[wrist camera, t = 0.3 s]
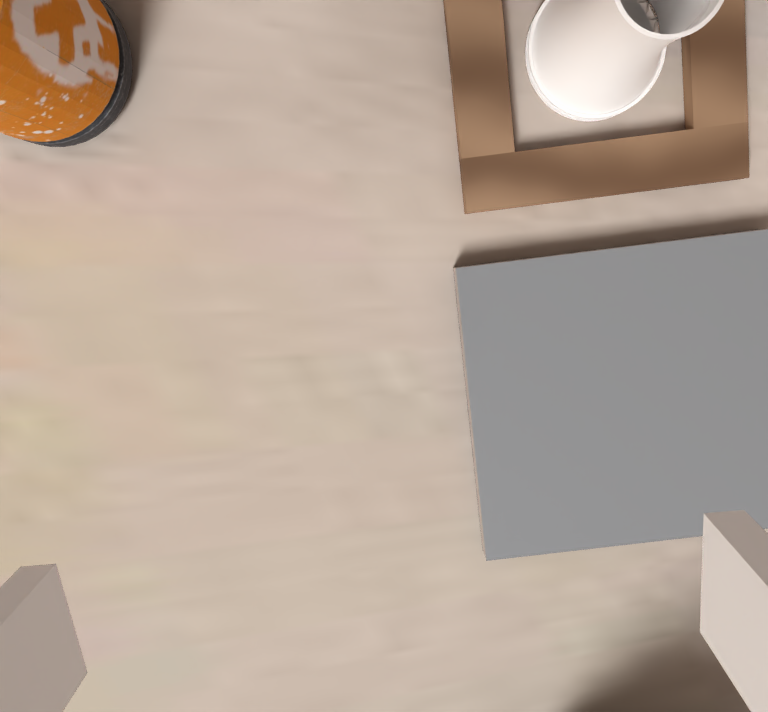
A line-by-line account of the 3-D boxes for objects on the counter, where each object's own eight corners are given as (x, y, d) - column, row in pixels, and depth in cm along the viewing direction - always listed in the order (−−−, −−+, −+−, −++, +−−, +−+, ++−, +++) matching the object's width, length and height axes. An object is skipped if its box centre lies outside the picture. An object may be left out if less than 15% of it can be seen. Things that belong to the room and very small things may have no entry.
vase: (536, -31, 35) (597, -141, 25) (671, -11, 35) (783, -114, 25) (514, 112, 36) (563, 60, 26) (644, 130, 36) (741, 85, 26)
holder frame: (434, -86, 34) (436, -96, 33) (730, -126, 34) (740, -137, 33) (464, 214, 37) (466, 212, 36) (739, 179, 37) (749, 177, 36)
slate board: (453, 267, 37) (455, 268, 36) (758, 229, 37) (773, 228, 36) (482, 549, 40) (486, 560, 39) (765, 516, 40) (780, 527, 39)
